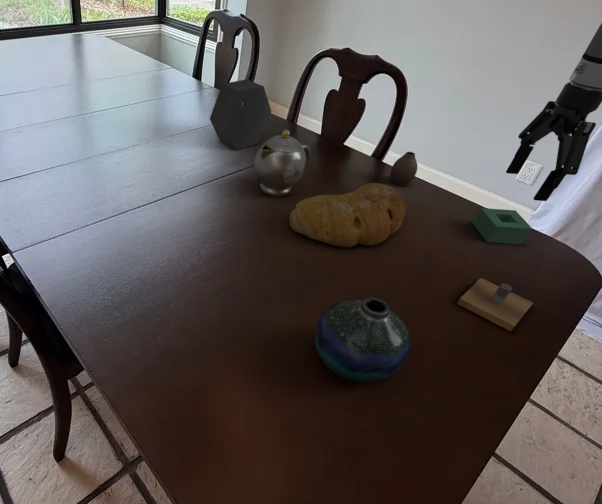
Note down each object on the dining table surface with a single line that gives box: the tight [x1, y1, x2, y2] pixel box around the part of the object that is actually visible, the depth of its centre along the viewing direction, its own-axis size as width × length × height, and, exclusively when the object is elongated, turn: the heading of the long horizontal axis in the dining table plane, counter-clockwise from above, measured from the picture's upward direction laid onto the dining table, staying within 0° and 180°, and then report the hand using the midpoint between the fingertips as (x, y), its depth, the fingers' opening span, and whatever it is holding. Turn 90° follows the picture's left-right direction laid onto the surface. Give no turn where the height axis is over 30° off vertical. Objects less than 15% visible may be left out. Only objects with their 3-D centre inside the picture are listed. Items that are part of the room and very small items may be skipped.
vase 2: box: [389, 151, 418, 187], centre depth 128 cm, size 7×7×9 cm
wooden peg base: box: [456, 277, 534, 332], centre depth 90 cm, size 11×11×5 cm
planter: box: [209, 79, 272, 151], centre depth 139 cm, size 17×8×21 cm
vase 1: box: [314, 297, 412, 383], centre depth 74 cm, size 15×15×13 cm
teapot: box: [254, 128, 312, 198], centre depth 118 cm, size 18×14×16 cm
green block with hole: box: [472, 207, 533, 245], centre depth 112 cm, size 9×9×4 cm
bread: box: [288, 182, 407, 248], centre depth 108 cm, size 32×20×10 cm, turn 117°
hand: (524, 186), depth 104 cm, fingers open, 13 cm apart
